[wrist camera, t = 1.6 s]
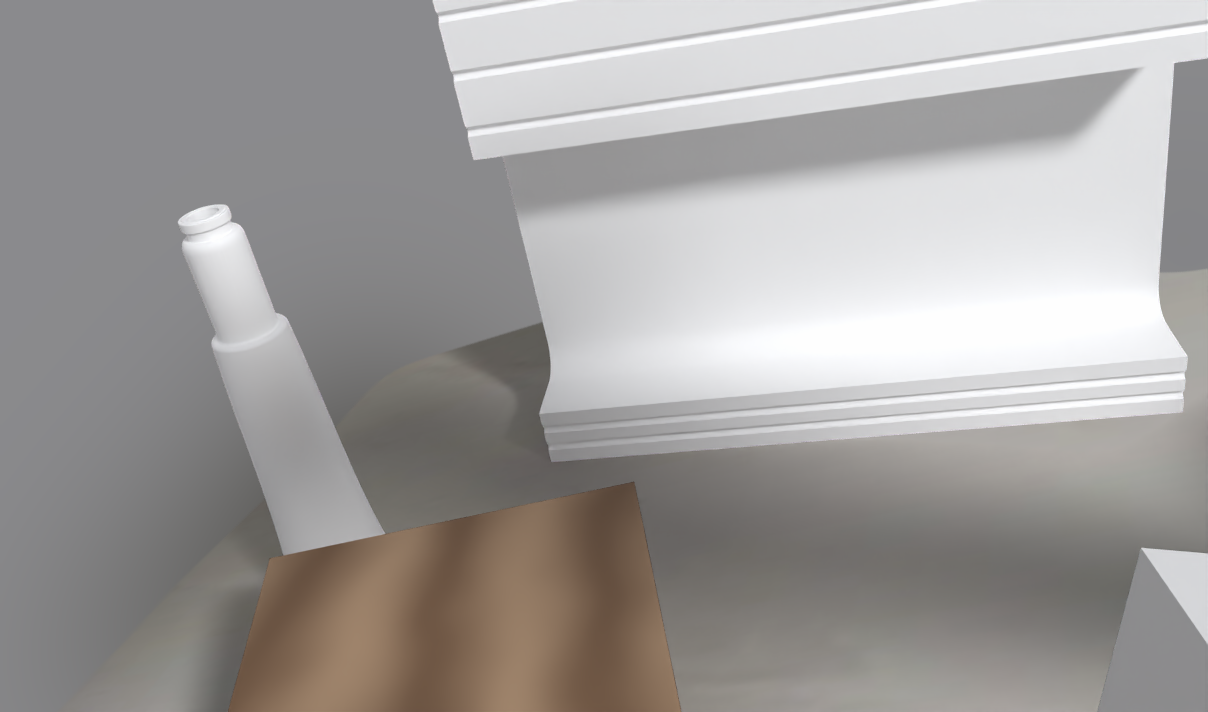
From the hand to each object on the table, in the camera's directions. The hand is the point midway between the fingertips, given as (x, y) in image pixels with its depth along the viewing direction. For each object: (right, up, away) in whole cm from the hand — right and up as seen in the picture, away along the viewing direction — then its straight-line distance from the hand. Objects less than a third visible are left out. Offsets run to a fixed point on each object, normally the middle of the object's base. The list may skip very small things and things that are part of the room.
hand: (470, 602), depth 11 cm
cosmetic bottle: (-12, -10, +47) cm, 50 cm away
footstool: (-3, -16, +33) cm, 37 cm away
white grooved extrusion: (+16, 0, +54) cm, 56 cm away
